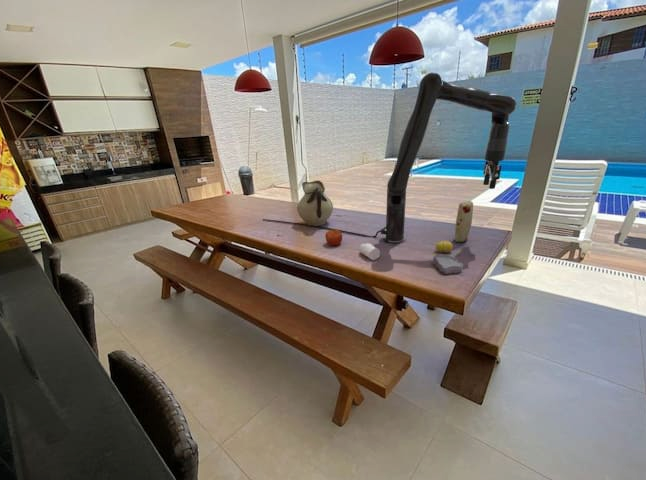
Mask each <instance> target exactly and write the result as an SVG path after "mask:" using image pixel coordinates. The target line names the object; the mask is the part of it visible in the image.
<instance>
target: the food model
mask: <svg viewBox="0 0 646 480" xmlns="http://www.w3.org/2000/svg"><path fill="white" fill-rule="evenodd" d="M473 213H474V202H473V201H472V200H467V201H464V202H459V203H458V209H457V214H456V219H455V230H454V241H455V242H456V243H462V242H466V241H467V240H468V239H469V238H468V237H469V234H470V231H471V227H472V223H473Z"/></svg>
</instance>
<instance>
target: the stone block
mask: <svg viewBox="0 0 646 480" xmlns="http://www.w3.org/2000/svg"><path fill="white" fill-rule="evenodd" d="M432 263H433V265H434V266H435V267H436V268H437V269H438V270H439V271H440V273H442V274H444V275H451V274H458V273H459V274H460V273H461V272H462V270H463V269H464V264H463V263H462V262H460V261H459V260H458V259H457V258H456V257H455V256H453V255H451V254H445V253H444V254H442V253H441V254H436V255H434V256H433V258H432Z"/></svg>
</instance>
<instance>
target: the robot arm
mask: <svg viewBox="0 0 646 480" xmlns="http://www.w3.org/2000/svg"><path fill="white" fill-rule="evenodd" d="M417 87H418V88H417V89H418V91H417V97H416V99H415V104H414V108H413V111H412V113H411V115H410V117H409V119H408V120H407V123H406V126H405V127H404V130H403V134H402V137H401V139H400V143H399V148H398V153H397V158H396V163H395V165H394V169H393V172H392V174H391V176H390V177H389V178H388V180H387V183H386V211H385V212H386V215H385V216H386V218H385V226H384V227H382V228H381V229H379V230H378V231H376V233H375V235H374V236H373V235H367V234H363V233H358V232H352V231H347V230H342V229H336V228H332V227H326V226H321V225H320V226H314V225H308V224H306V223H300V222H292V221H284V220H275V219H267V218H263V219H262V220H263V221H266V222H275V223H283V224H284V223H285V224H292V225H300V226H305V227H312V228H313V227H314V228H318V229H319V228H320V229H324V230H329V231H330V230H332V229H333V230H334V229H336V230H339V231H340V232H341V233H346V234H351V235H355V236H356V235H357V236H360V237H366V238H376V237H378V234H379V233H380V234H381V235H385V237H384V239H385V243H391V244H399V243H403V242H404V240H405V222H406V221H405V220H406V205H407V204H406V201H407V188H408V182H409V179H410V175H411V171H412V168H413V166H414V164H415V162H416V160H417V157H418V155H419V152H420V149H421V147H422V145H423V142H424V139H425V136H426V132H427V129H428V126H429V121H430V117H431V114H432V111H433V108H434V106H435V104H436V101H437V100H441V101H446V102H451V103H454V104H457V105H460V106H463V107H467V108H470V109H474V110H478V111H483V112H489V113H491V124H490V125H491V126H490V131H489V136H488V140H487V145H486V150H485V155H484V160H485V162H484V167H483V173H482V174H483V183H482V184H483V186H488V185H489V186H488V188H489V189H490V190H494V189H495V188H496V184H497V181H498V180H500V176H501V171H502V164H500V162H503V161H504V159H505V154H506V150H507V146H508V137H509V132H510V123H509V117H510V115H511V114H513V113H514V111H515V110H516V108H517V101H516V99H515V98H514V97H512V96H510V95H505V94H500V93H494V92H490V91H487V90H484V89H480V88H475V87H470V86H463V85H457V84H453V83H450V82H448V81H446V80H443V79H442V76H441V75H440V74H439V73H438V72H429V73H426V74H425V75H424V76H423V77H422V78H421V80H420V81H419V84H418V86H417Z"/></svg>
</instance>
